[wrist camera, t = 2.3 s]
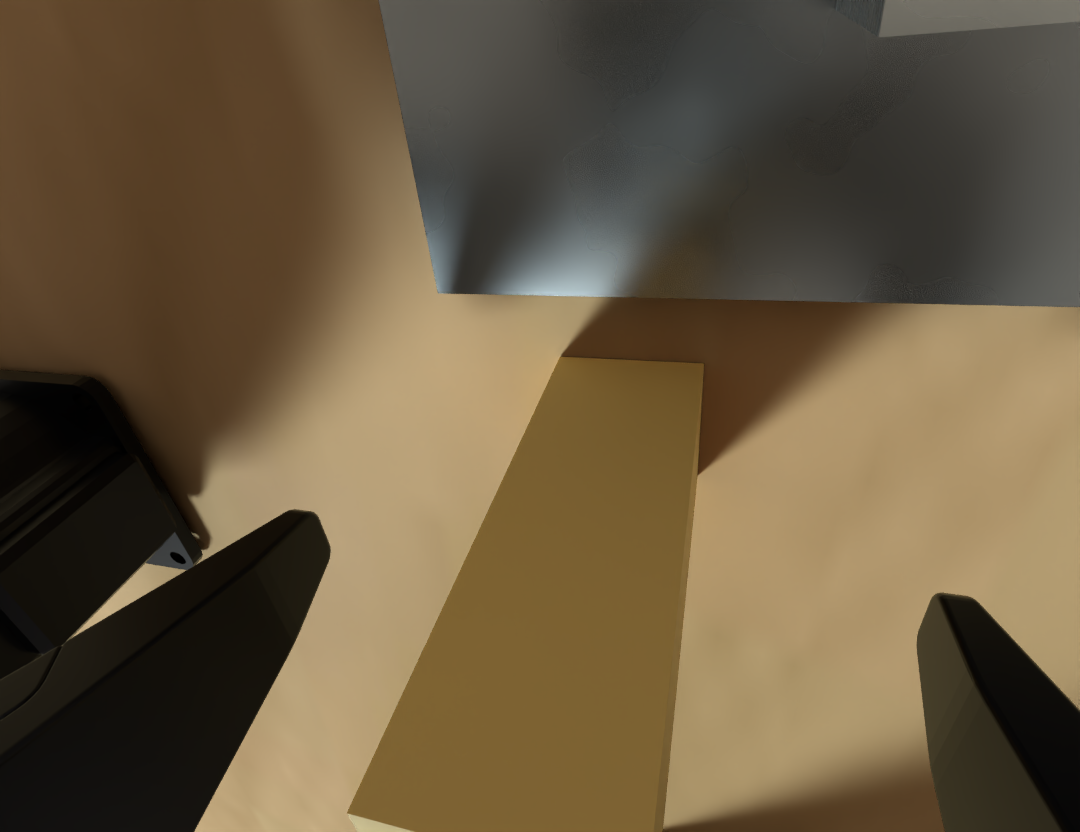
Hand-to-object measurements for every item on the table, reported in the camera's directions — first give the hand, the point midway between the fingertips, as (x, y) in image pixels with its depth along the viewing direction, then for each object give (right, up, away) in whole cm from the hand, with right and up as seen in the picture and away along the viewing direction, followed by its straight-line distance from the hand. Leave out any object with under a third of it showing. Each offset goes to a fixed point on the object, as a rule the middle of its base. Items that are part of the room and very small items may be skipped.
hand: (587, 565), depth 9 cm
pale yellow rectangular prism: (+1, +2, +3) cm, 4 cm away
